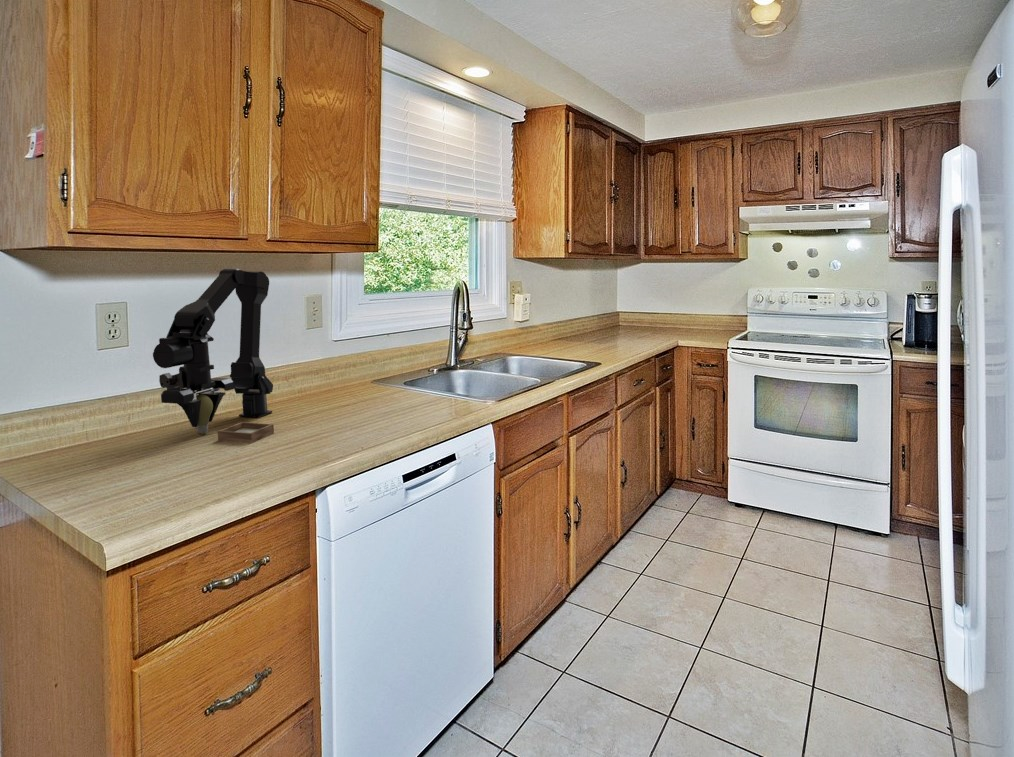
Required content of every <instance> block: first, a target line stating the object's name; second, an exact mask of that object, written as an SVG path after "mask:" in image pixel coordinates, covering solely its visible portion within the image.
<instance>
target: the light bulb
mask: <svg viewBox="0 0 1014 757" xmlns="http://www.w3.org/2000/svg"><path fill="white" fill-rule="evenodd" d="M196 400H201V405H200V413H199V420H198V425H197V427H196V429H197V433H198V434H200V435H202V436H204V435H206V434H207V433H209V423H210V422H209V418H210V415H211V413H212V410H213V402H212V400H211V399H210V398H209V397H208V396H206V395H199V394H197V395H196Z"/></svg>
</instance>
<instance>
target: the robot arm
mask: <svg viewBox="0 0 1014 757" xmlns="http://www.w3.org/2000/svg"><path fill="white" fill-rule="evenodd" d="M269 286H270V279H269V277H268V276H267V274H266V273H265V272H264V271H263V270H262V271H260V270H259V271H249V270H248V271H247V270H241V269H240V268H239V269H238V268H223V269H221V270H220V271H219V273H218V276H217V277H216V278H215V279H214V281H213V282H212V283H211V284H210V285H209V286H208V287H207V288H206V290H205V291H204V292H203V293H202V294H201V295H200V296H199V297H198V298H197V299H196V300H195V301H193V302H190V303H189V304H188V303H187V304H186V305H184V306H183V307H181V308H180V309H179V310H178V311H177V312H176V313H175V315H174V317H173V321H172V324H171V326H170V328H169V330H168V333H167V334H166V337H159V338H158V342H159V343H158V344H157V345H156V346H155V347H154V349H153V352H152V358H153V361H154V363H155V364H156V365H157V366H158V367H160V368H162V369H169V368H174V367H178V366H179V368H178V373H176V374H172V373H170V372H166V373H162V374H160V375H159V376H158V377H159V379H158V380H159V381H158V382H159V385H160V387H161V388H162V389H165V390H163V391H162V392H161V393H160V401H161V403H162V404H163V403H164V404H176V405H178V406H179V407H180V408H182V410H183V411H184V413H185V415H186V417H187V419H188V420H189V423H190V425H191V427H192V428H197V425H198V420H199V413H200V405H201V400H196V395H206V396H208V397H209V398H210V399H211V400H212V402H213V410H212V413H211V415H210V418H209V422H208V423H211V422H213V419H214V417H215V414H216V412H217V411H218V408H219V405H220V403H221V402H222V399H223V398H224V396H225V395H226V392H228V391H231V390H232V391H233V390H234V392H235V394H236V395H238V394H240V395H241V398H242V399H241V400H242V401H241V405H242V413H239V414H238V416H239V417H248V418H261V417H264V416H267V415H270V414H272V413H273V410H268V403H267V402H268V401H267V398H268V397H267V395H269V394H271V393H273V388H274V384H273V383H272V381H271V380H270V379H269V378H268V377H267V375H266V367H265V365H264V364H263V362H262V359H261V358H260V345H261V344H260V343H261V342H260V340H261V338H260V337H261V321H262V320H261V316H262V312H261V311H262V305H263V303H264V301H265V300H266V299H267V297H268V294H269V290H270V289H269V288H270V287H269ZM234 290H235V295H236V296H237V298H238V300H239V302H240V304H241V308H240V309H241V310H240V332H239V333H240V334H239V356H238V358H237V359H236V361H235V362H231V364H230V375H229V377H228V378H227V377H212V374H211V370H214V369H215V365H214V364H210V363H211V362H210V352H209V342H214V341H215V339H214V337H213V336H212V335H210V334H208V332H210V330H211V328H212V326H214V323H215V321H216V318H215V317H216V316H215V315H216V312H217V311H218V309H219V308H221V306H222V305H223V304H224V303H225V301H226V300H227V299H228V297H229V296H230V295H231V294H232V293H233V292H234ZM221 389H223V390H224V392H222V391H221Z"/></svg>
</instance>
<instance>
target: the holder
mask: <svg viewBox="0 0 1014 757" xmlns="http://www.w3.org/2000/svg"><path fill="white" fill-rule="evenodd" d="M273 434H275V427H274V424H273V423H259V422H246V421H245V422H244V421H241V422H238V423H236V424H233V425H231V426H228V427H226V428H223V429H220V430H217V441H218V442H219V441H220V442H233V443H234V442H235V443H243V444H244V443H246V444H253V443H255V442H256V441H259V440H261V439H264V438H266V437H269V436H271V435H273Z"/></svg>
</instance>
